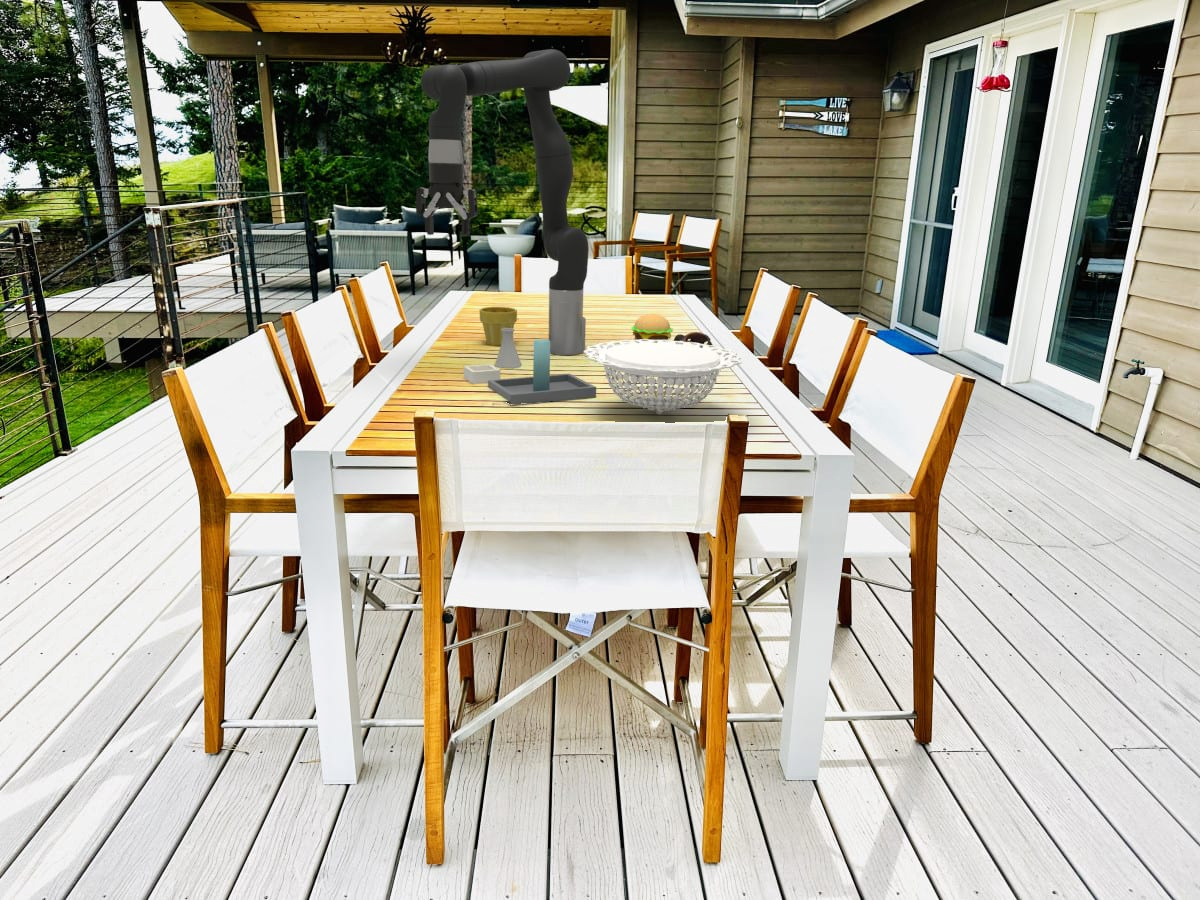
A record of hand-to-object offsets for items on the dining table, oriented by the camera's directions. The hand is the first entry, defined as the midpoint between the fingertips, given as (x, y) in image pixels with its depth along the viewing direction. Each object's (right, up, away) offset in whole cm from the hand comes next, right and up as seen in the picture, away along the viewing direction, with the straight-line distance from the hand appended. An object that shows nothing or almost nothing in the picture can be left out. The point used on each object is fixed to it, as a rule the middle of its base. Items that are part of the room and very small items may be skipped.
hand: (447, 235), depth 197 cm
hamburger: (+50, -19, +51) cm, 74 cm away
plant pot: (+6, -20, +45) cm, 49 cm away
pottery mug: (+60, -25, +33) cm, 73 cm away
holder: (+8, -34, -1) cm, 35 cm away
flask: (+12, -30, +14) cm, 35 cm away
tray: (+22, -37, -8) cm, 44 cm away
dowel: (+22, -36, -9) cm, 44 cm away
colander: (+47, -43, -22) cm, 67 cm away
